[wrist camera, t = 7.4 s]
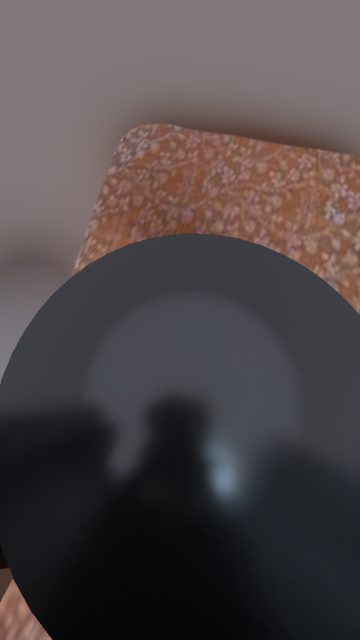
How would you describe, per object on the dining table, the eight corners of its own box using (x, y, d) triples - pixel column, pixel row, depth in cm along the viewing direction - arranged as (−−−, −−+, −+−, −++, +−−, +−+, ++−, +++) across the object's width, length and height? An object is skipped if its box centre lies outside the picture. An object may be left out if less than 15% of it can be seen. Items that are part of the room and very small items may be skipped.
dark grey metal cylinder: (239, 365, 16) (534, 454, 2) (189, 412, 16) (160, 891, 2) (193, 316, 18) (196, 173, 3) (146, 359, 17) (-73, 396, 3)
